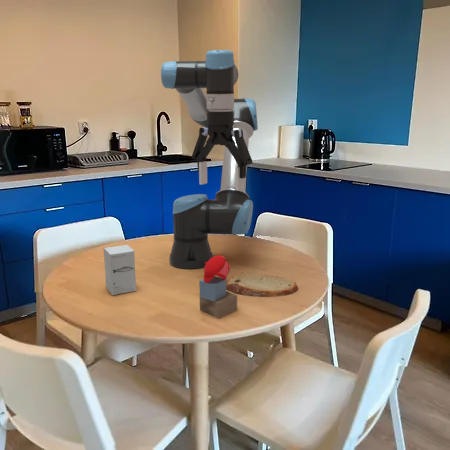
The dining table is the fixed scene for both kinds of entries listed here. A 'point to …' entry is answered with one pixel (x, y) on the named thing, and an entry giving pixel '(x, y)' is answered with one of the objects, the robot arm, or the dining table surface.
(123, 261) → the supplement box
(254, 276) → the slice of bread
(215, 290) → the tower top
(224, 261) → the cap
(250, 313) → the dining table surface
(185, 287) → the dining table surface
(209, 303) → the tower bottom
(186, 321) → the dining table surface
